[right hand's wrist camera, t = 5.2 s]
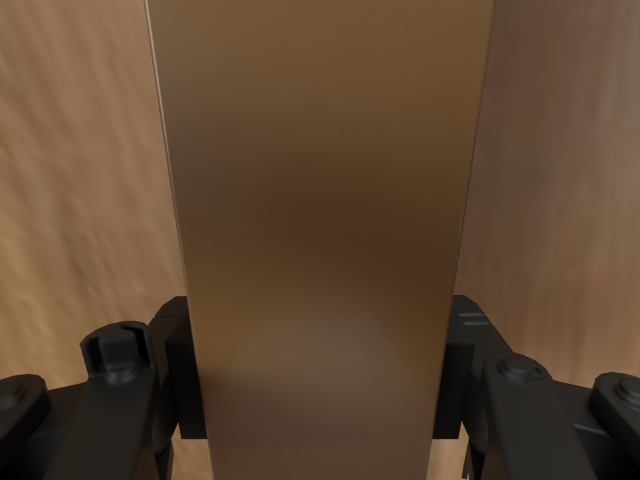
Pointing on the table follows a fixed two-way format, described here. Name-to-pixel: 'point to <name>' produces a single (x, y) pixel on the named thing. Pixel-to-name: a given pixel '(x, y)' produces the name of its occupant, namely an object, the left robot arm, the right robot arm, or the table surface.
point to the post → (319, 220)
